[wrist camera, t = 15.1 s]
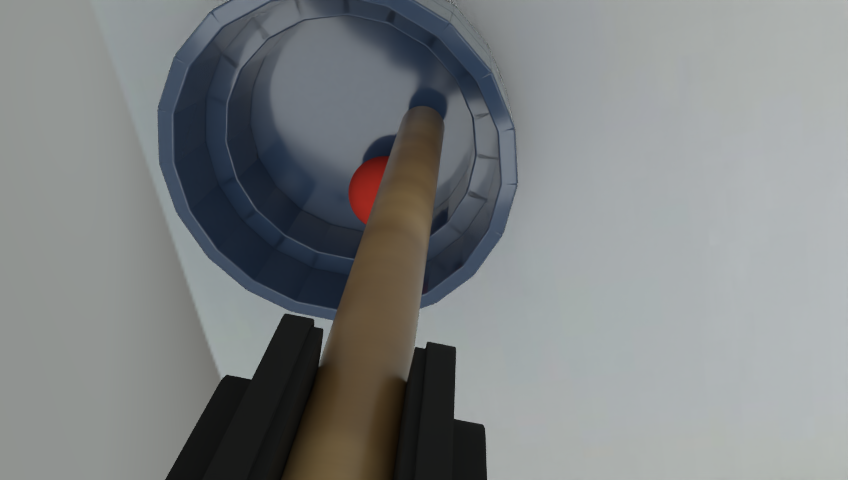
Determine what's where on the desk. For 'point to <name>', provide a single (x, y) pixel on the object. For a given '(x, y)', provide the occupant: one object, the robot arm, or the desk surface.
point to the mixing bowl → (330, 138)
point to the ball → (366, 186)
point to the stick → (374, 322)
